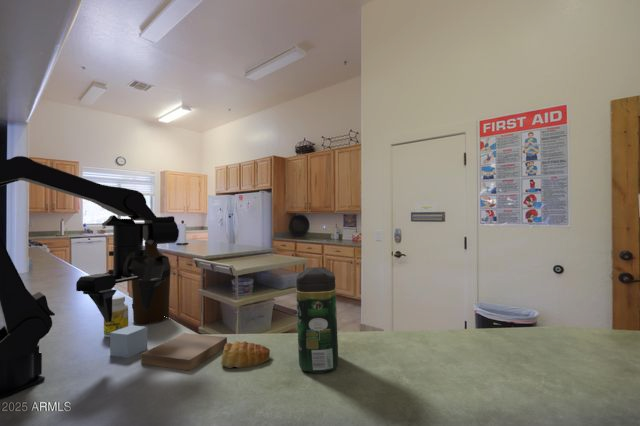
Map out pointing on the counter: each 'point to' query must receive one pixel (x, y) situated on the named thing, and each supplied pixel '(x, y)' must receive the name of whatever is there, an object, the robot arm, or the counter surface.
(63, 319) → the counter surface
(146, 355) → the base slab
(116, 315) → the supplement bottle
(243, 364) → the pastry
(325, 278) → the coffee jar
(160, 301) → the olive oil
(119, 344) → the block
